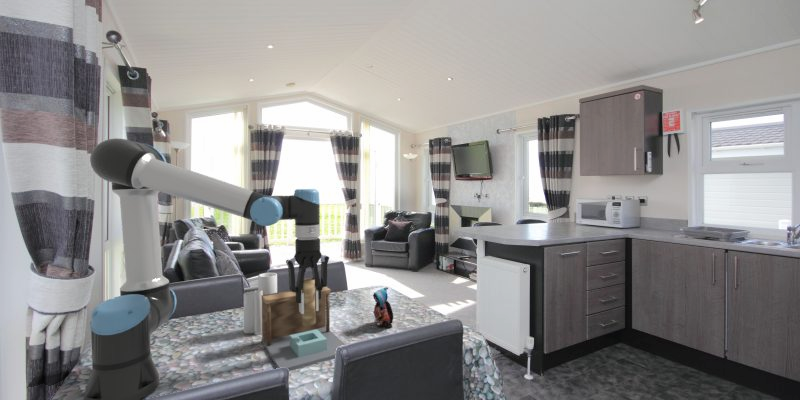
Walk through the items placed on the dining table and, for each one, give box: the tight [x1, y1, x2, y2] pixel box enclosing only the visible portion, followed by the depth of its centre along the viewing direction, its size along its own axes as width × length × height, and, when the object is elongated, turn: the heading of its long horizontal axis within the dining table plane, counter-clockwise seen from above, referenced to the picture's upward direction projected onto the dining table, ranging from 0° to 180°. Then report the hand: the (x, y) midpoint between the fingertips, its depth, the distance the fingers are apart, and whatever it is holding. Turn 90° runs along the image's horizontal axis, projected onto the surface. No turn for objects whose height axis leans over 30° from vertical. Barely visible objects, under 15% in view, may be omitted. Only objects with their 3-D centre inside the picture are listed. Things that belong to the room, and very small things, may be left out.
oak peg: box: [302, 277, 316, 326], centre depth 113 cm, size 4×4×14 cm
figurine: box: [372, 286, 394, 329], centre depth 134 cm, size 10×7×15 cm
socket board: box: [261, 327, 347, 372], centre depth 116 cm, size 22×24×4 cm
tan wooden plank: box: [261, 286, 332, 346], centre depth 123 cm, size 22×6×16 cm, turn 123°
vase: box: [243, 272, 278, 336], centre depth 129 cm, size 11×7×20 cm, turn 123°
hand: (308, 311), depth 113 cm, fingers closed on oak peg, 4 cm apart
